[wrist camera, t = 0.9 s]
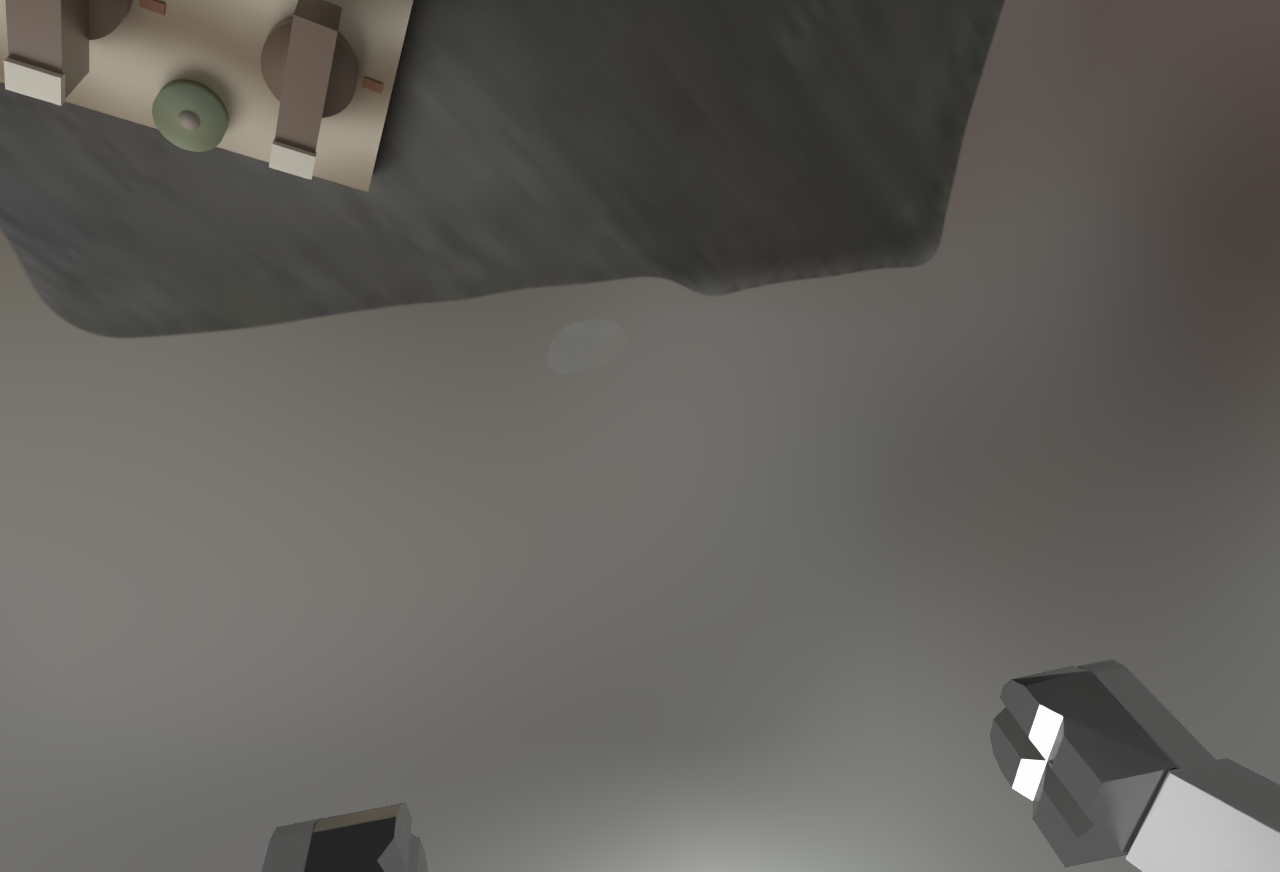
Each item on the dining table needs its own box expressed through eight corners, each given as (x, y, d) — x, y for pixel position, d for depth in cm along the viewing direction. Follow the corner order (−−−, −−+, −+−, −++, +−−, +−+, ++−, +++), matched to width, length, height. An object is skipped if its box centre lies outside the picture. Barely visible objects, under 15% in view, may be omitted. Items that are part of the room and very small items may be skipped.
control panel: (-33, -238, 30) (-73, -235, 27) (418, -36, 38) (420, -19, 35) (-11, 62, 36) (-41, 87, 34) (368, 178, 44) (366, 205, 42)
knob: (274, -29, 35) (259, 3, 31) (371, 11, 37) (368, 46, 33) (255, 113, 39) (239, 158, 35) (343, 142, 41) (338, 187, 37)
